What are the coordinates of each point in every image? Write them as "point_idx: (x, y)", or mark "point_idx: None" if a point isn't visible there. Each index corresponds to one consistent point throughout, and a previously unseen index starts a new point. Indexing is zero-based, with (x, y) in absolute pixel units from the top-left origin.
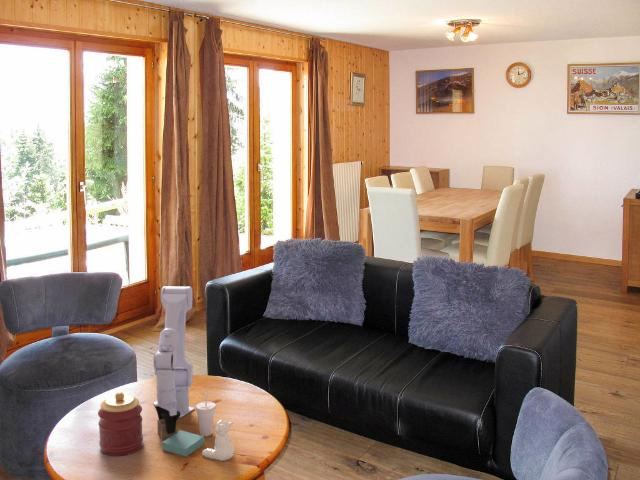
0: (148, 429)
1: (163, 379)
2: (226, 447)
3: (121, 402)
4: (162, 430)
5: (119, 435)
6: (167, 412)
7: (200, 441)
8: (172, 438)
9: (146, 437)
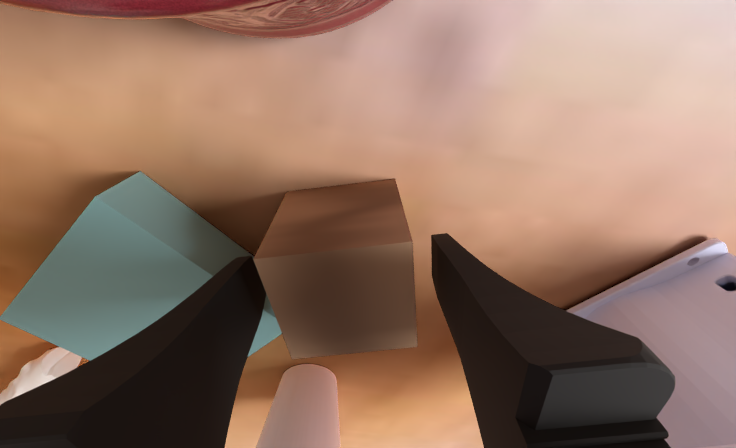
0: (511, 127)
1: None
2: None
3: None
4: (267, 237)
5: None
6: (461, 355)
7: None
8: (166, 272)
9: (379, 87)
